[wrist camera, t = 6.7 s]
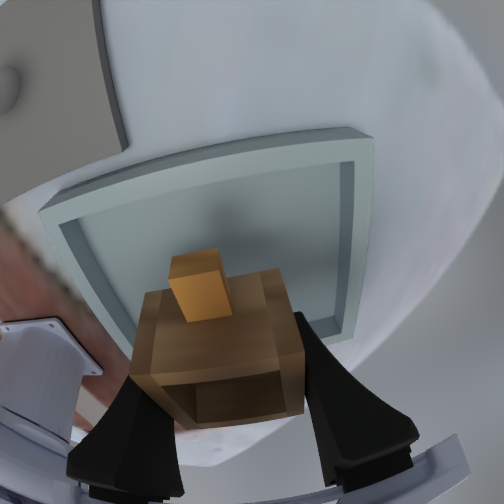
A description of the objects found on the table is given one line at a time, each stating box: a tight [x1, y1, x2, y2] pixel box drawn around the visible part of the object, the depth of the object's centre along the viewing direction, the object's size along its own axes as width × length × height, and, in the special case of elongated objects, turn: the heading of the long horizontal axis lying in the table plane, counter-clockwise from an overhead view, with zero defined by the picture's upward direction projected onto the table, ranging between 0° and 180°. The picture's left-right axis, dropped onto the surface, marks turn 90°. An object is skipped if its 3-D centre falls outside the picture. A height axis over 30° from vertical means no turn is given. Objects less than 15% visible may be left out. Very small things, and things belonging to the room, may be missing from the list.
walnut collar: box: [129, 248, 305, 430], centre depth 10 cm, size 6×8×4 cm
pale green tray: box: [37, 127, 374, 361], centre depth 15 cm, size 16×14×2 cm
